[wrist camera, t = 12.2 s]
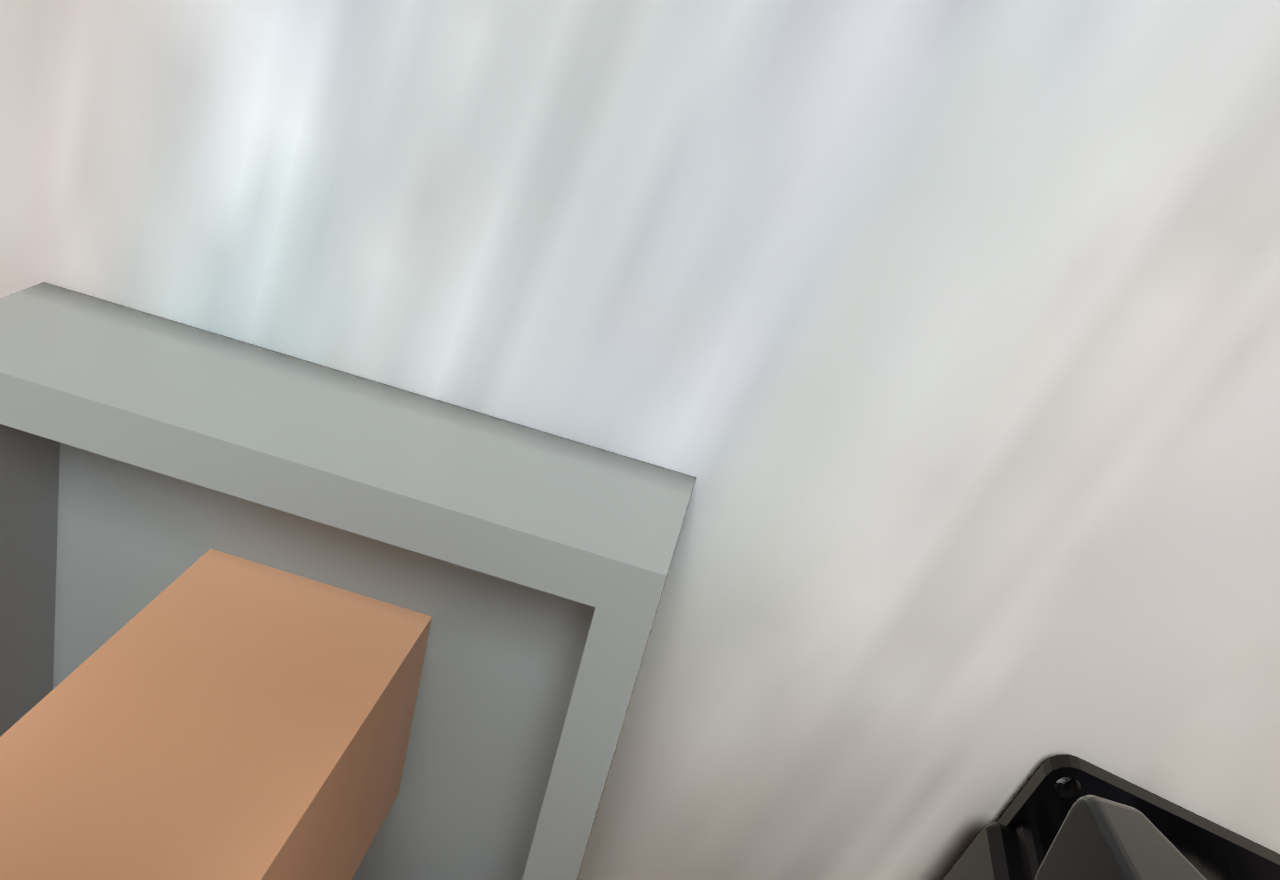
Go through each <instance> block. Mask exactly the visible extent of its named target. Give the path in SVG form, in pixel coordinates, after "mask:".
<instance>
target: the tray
mask: <svg viewBox="0 0 1280 880" xmlns="http://www.w3.org/2000/svg"><path fill="white" fill-rule="evenodd" d="M695 480H696V477H693V476H690V475H686V474H683V473H680V472H676V471H673V470H669V469H666V468H663V467H659V466H656V465H653V464H649V463H646V462H643V461H639V460H636V459H633V458H629V457H626V456H623V455H619V454H616V453H613V452H609V451H606V450H603V449H599V448H596V447H593V446H589V445H586V444H583V443H579V442H576V441H573V440H569V439H566V438H563V437H559V436H556V435H553V434H549V433H546V432H543V431H539V430H536V429H533V428H529V427H526V426H523V425H519V424H516V423H512V422H509V421H506V420H502V419H499V418H496V417H492V416H489V415H486V414H482V413H479V412H476V411H472V410H469V409H466V408H462V407H459V406H456V405H452V404H449V403H446V402H442V401H439V400H436V399H432V398H429V397H426V396H422V395H419V394H416V393H412V392H409V391H406V390H402V389H399V388H396V387H392V386H389V385H386V384H382V383H379V382H376V381H372V380H369V379H366V378H362V377H359V376H355V375H352V374H349V373H345V372H342V371H339V370H335V369H332V368H329V367H325V366H322V365H319V364H315V363H312V362H309V361H305V360H302V359H299V358H295V357H292V356H289V355H285V354H282V353H279V352H275V351H272V350H269V349H265V348H262V347H259V346H255V345H252V344H249V343H245V342H242V341H239V340H235V339H232V338H229V337H225V336H222V335H219V334H215V333H212V332H209V331H205V330H202V329H198V328H195V327H192V326H188V325H185V324H182V323H178V322H175V321H172V320H168V319H165V318H162V317H158V316H155V315H152V314H148V313H145V312H142V311H138V310H135V309H132V308H128V307H125V306H122V305H118V304H115V303H112V302H108V301H105V300H102V299H98V298H95V297H92V296H88V295H85V294H82V293H78V292H75V291H72V290H68V289H65V288H62V287H58V286H55V285H52V284H48V283H45V282H43V283H40V284H38V285H35V286H32V287H30V288H27V289H24V290H22V291H19V292H17V293H14V294H11V295H9V296H6V297H3V298H1V299H0V737H1V736H2V735H3V734H4V733H5V732H6V731H7V730H9V729H10V728H11V727H12V726H13V725H14V724H15V723H16V722H18V721H19V720H20V719H21V718H22V717H23V716H24V715H25V714H26V713H28V712H29V711H30V710H31V709H32V708H33V707H34V706H35V705H36V704H38V703H39V702H40V701H41V700H42V699H43V698H44V697H45V696H47V695H48V694H49V693H50V692H51V691H52V690H53V689H54V688H55V687H57V686H58V685H59V684H60V683H61V682H62V681H63V680H64V679H65V678H67V677H68V676H69V675H70V674H71V673H72V672H73V671H74V670H76V669H77V668H78V667H79V666H80V665H81V664H82V663H83V662H84V661H86V660H87V659H88V658H89V657H90V656H91V655H92V654H93V653H94V652H96V651H97V650H98V649H99V648H100V647H101V646H102V645H103V644H105V643H106V642H107V641H108V640H109V639H110V638H111V637H112V636H113V635H115V634H116V633H117V632H118V631H119V630H120V629H121V628H122V627H123V626H125V625H126V624H127V623H128V622H129V621H130V620H131V619H132V618H134V617H135V616H136V615H137V614H138V613H139V612H140V611H141V610H142V609H144V608H145V607H146V606H147V605H148V604H149V603H150V602H151V601H152V600H154V599H155V598H156V597H157V596H158V595H159V594H160V593H161V592H163V591H164V590H165V589H166V588H167V587H168V586H169V585H170V584H171V583H173V582H174V581H175V580H176V579H177V578H178V577H179V576H180V575H182V574H183V573H184V572H185V571H186V570H187V569H188V568H189V567H190V566H192V565H193V564H194V563H195V562H196V561H197V560H198V559H199V558H200V557H202V556H203V555H204V554H205V553H206V552H207V551H208V550H209V549H214V550H217V551H220V552H223V553H227V554H230V555H233V556H236V557H240V558H243V559H246V560H249V561H253V562H256V563H259V564H262V565H266V566H269V567H272V568H275V569H279V570H282V571H285V572H288V573H292V574H295V575H298V576H301V577H305V578H308V579H311V580H315V581H318V582H321V583H324V584H328V585H331V586H334V587H337V588H341V589H344V590H347V591H350V592H354V593H357V594H360V595H363V596H367V597H370V598H373V599H376V600H380V601H383V602H386V603H389V604H393V605H396V606H399V607H402V608H406V609H409V610H412V611H415V612H419V613H422V614H425V615H428V616H432V619H431V625H430V630H429V635H428V640H427V646H426V651H425V656H424V661H423V667H422V672H421V677H420V682H419V687H418V693H417V698H416V703H415V708H414V714H413V719H412V724H411V729H410V735H409V740H408V745H407V750H406V756H405V761H404V766H403V771H402V776H401V782H400V787H399V792H398V796H397V798H396V800H395V801H394V803H393V805H392V807H391V809H390V811H389V812H388V814H387V816H386V818H385V820H384V821H383V823H382V825H381V827H380V829H379V831H378V832H377V834H376V836H375V838H374V840H373V841H372V843H371V845H370V847H369V849H368V851H367V852H366V854H365V856H364V858H363V860H362V861H361V863H360V865H359V867H358V869H357V870H356V872H355V874H354V876H353V878H352V880H577V877H578V874H579V870H580V867H581V863H582V860H583V857H584V853H585V850H586V847H587V843H588V840H589V836H590V833H591V830H592V826H593V823H594V820H595V816H596V813H597V810H598V806H599V803H600V799H601V796H602V793H603V789H604V786H605V783H606V779H607V776H608V773H609V769H610V766H611V762H612V759H613V756H614V752H615V749H616V746H617V742H618V739H619V735H620V732H621V729H622V725H623V722H624V719H625V715H626V712H627V709H628V705H629V702H630V698H631V695H632V692H633V688H634V685H635V682H636V678H637V675H638V672H639V668H640V665H641V661H642V658H643V655H644V651H645V648H646V645H647V641H648V638H649V634H650V631H651V628H652V624H653V621H654V618H655V614H656V611H657V608H658V604H659V601H660V597H661V594H662V591H663V587H664V584H665V581H666V577H667V574H668V571H669V567H670V564H671V560H672V557H673V554H674V550H675V547H676V544H677V540H678V537H679V534H680V530H681V527H682V523H683V520H684V517H685V513H686V510H687V507H688V503H689V500H690V496H691V493H692V490H693V486H694V483H695Z"/></svg>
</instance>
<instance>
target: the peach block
mask: <svg viewBox="0 0 1280 880" xmlns="http://www.w3.org/2000/svg"><path fill="white" fill-rule="evenodd" d="M431 619H432V616H428V615H425V614H422V613H419V612H415V611H412V610H409V609H406V608H402V607H399V606H396V605H393V604H389V603H386V602H383V601H380V600H376V599H373V598H370V597H367V596H363V595H360V594H357V593H354V592H350V591H347V590H344V589H341V588H337V587H334V586H331V585H328V584H324V583H321V582H318V581H315V580H311V579H308V578H305V577H301V576H298V575H295V574H292V573H288V572H285V571H282V570H279V569H275V568H272V567H269V566H266V565H262V564H259V563H256V562H253V561H249V560H246V559H243V558H240V557H236V556H233V555H230V554H227V553H223V552H220V551H217V550H214V549H209V550H208V551H207V552H206V553H205V554H204V555H203V556H202V557H200V558H199V559H198V560H197V561H196V562H195V563H194V564H193V565H192V566H190V567H189V568H188V569H187V570H186V571H185V572H184V573H183V574H182V575H180V576H179V577H178V578H177V579H176V580H175V581H174V582H173V583H171V584H170V585H169V586H168V587H167V588H166V589H165V590H164V591H163V592H161V593H160V594H159V595H158V596H157V597H156V598H155V599H154V600H152V601H151V602H150V603H149V604H148V605H147V606H146V607H145V608H144V609H142V610H141V611H140V612H139V613H138V614H137V615H136V616H135V617H134V618H132V619H131V620H130V621H129V622H128V623H127V624H126V625H125V626H123V627H122V628H121V629H120V630H119V631H118V632H117V633H116V634H115V635H113V636H112V637H111V638H110V639H109V640H108V641H107V642H106V643H105V644H103V645H102V646H101V647H100V648H99V649H98V650H97V651H96V652H94V653H93V654H92V655H91V656H90V657H89V658H88V659H87V660H86V661H84V662H83V663H82V664H81V665H80V666H79V667H78V668H77V669H76V670H74V671H73V672H72V673H71V674H70V675H69V676H68V677H67V678H65V679H64V680H63V681H62V682H61V683H60V684H59V685H58V686H57V687H55V688H54V689H53V690H52V691H51V692H50V693H49V694H48V695H47V696H45V697H44V698H43V699H42V700H41V701H40V702H39V703H38V704H36V705H35V706H34V707H33V708H32V709H31V710H30V711H29V712H28V713H26V714H25V715H24V716H23V717H22V718H21V719H20V720H19V721H18V722H16V723H15V724H14V725H13V726H12V727H11V728H10V729H9V730H7V731H6V732H5V733H4V734H3V735H2V736H1V737H0V880H352V878H353V876H354V874H355V872H356V870H357V869H358V867H359V865H360V863H361V861H362V860H363V858H364V856H365V854H366V852H367V851H368V849H369V847H370V845H371V843H372V841H373V840H374V838H375V836H376V834H377V832H378V831H379V829H380V827H381V825H382V823H383V821H384V820H385V818H386V816H387V814H388V812H389V811H390V809H391V807H392V805H393V803H394V801H395V800H396V798H397V796H398V792H399V787H400V782H401V776H402V771H403V766H404V761H405V756H406V750H407V745H408V740H409V735H410V729H411V724H412V719H413V714H414V708H415V703H416V698H417V693H418V687H419V682H420V677H421V672H422V667H423V661H424V656H425V651H426V646H427V640H428V635H429V630H430V625H431Z"/></svg>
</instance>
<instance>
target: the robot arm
mask: <svg viewBox="0 0 1280 880" xmlns="http://www.w3.org/2000/svg"><path fill="white" fill-rule="evenodd" d="M1063 777H1072V778H1075V780H1074V781H1073V782H1071V783H1069V784H1060V783H1057V782H1056V781H1057V780H1059V779H1060V778H1063ZM943 880H1280V854H1278V853H1276V852H1274V851H1272V850H1270V849H1268V848H1266V847H1263V846H1261V845H1259V844H1257V843H1255V842H1253V841H1251V840H1249V839H1247V838H1245V837H1243V836H1241V835H1239V834H1236V833H1234V832H1232V831H1230V830H1228V829H1226V828H1224V827H1222V826H1220V825H1218V824H1216V823H1214V822H1211V821H1209V820H1207V819H1205V818H1203V817H1201V816H1199V815H1197V814H1195V813H1193V812H1191V811H1189V810H1186V809H1184V808H1182V807H1180V806H1178V805H1176V804H1174V803H1172V802H1170V801H1168V800H1166V799H1164V798H1161V797H1159V796H1157V795H1155V794H1153V793H1151V792H1149V791H1147V790H1145V789H1143V788H1141V787H1139V786H1137V785H1134V784H1132V783H1130V782H1128V781H1126V780H1124V779H1122V778H1120V777H1118V776H1116V775H1114V774H1112V773H1109V772H1107V771H1105V770H1103V769H1101V768H1099V767H1097V766H1095V765H1093V764H1091V763H1089V762H1087V761H1084V760H1082V759H1080V758H1078V757H1075V756H1072V755H1056V756H1054V757H1051V758H1049V759H1048V760H1046V761H1045V762H1044V763H1043V764H1042V765H1041V766H1040V768H1039V769H1038V770H1037V771H1036V773H1035V774H1034V775H1033V776H1032V778H1031V779H1030V780H1029V782H1028V783H1027V784H1026V785H1025V787H1024V788H1023V789H1022V790H1021V792H1020V793H1019V794H1018V796H1017V797H1016V798H1015V799H1014V801H1013V802H1012V803H1011V804H1010V806H1009V807H1008V808H1007V810H1006V811H1005V812H1004V813H1003V815H1002V816H1001V817H1000V819H999V820H998V821H997V822H994V823H991V824H989V825H987V826H985V827H984V828H983V829H982V830H981V831H980V833H979V834H978V835H977V836H976V838H975V839H974V840H973V842H972V843H971V844H970V845H969V847H968V848H967V849H966V851H965V852H964V853H963V854H962V856H961V857H960V858H959V860H958V861H957V862H956V863H955V865H954V866H953V867H952V869H951V870H950V871H949V872H948V874H947V875H946V876H945V878H944V879H943Z"/></svg>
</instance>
